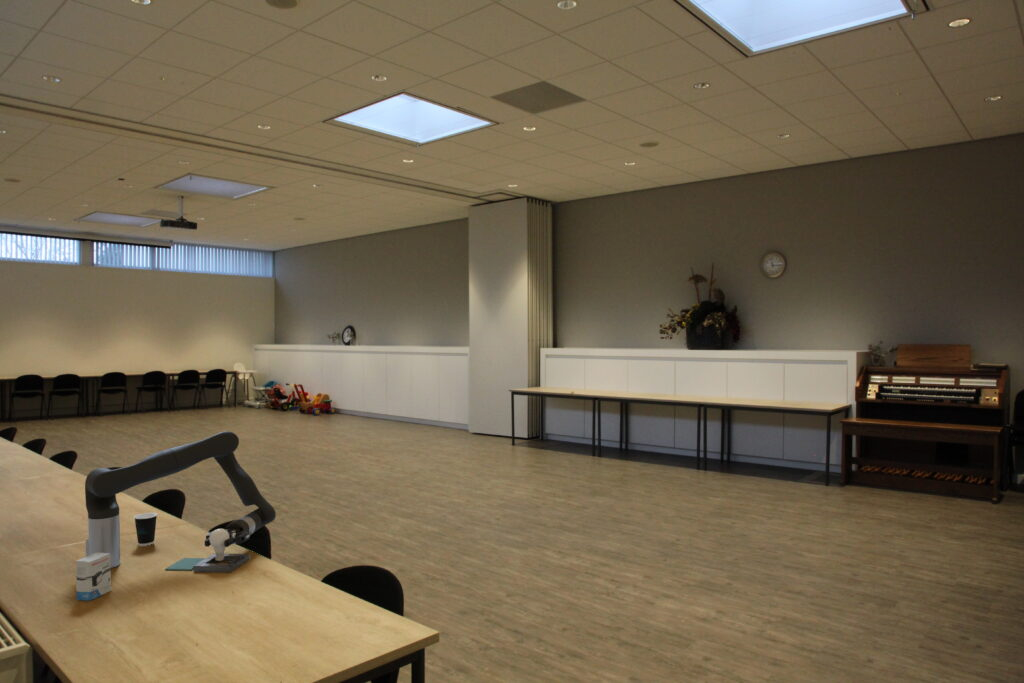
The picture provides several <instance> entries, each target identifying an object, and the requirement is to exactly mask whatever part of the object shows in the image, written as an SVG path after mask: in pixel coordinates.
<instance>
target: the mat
mask: <svg viewBox="0 0 1024 683" xmlns="http://www.w3.org/2000/svg"><path fill="white" fill-rule="evenodd" d="M206 558H207V557H206ZM206 558H205V557H204V558H203V557H202V558H201V557H198V558H197V557H184V558H181V559H180V560H178V561H175V563H173V564H171V565H169V566H168V567H166V568H165V571H180V572H181V571H183V572H184V571H187V572H188V571H189V572H191V571H193V566H194V565H196V564H197V563H199V562H201V561H202V560H204V559H206Z"/></svg>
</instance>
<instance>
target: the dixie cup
mask: <svg viewBox="0 0 1024 683" xmlns="http://www.w3.org/2000/svg"><path fill="white" fill-rule="evenodd" d="M157 518H158V513H157V512H144V513H139V514H136V515H134V516H133V519H134V524H135V530H136V538H137V543H138V546H139V545H140V546H139V547H148V546H147V545H149V546H152V545H154V541H155V538H156V537H155V536H156V527H157V526H156V525H157ZM151 544H152V545H151Z"/></svg>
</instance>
